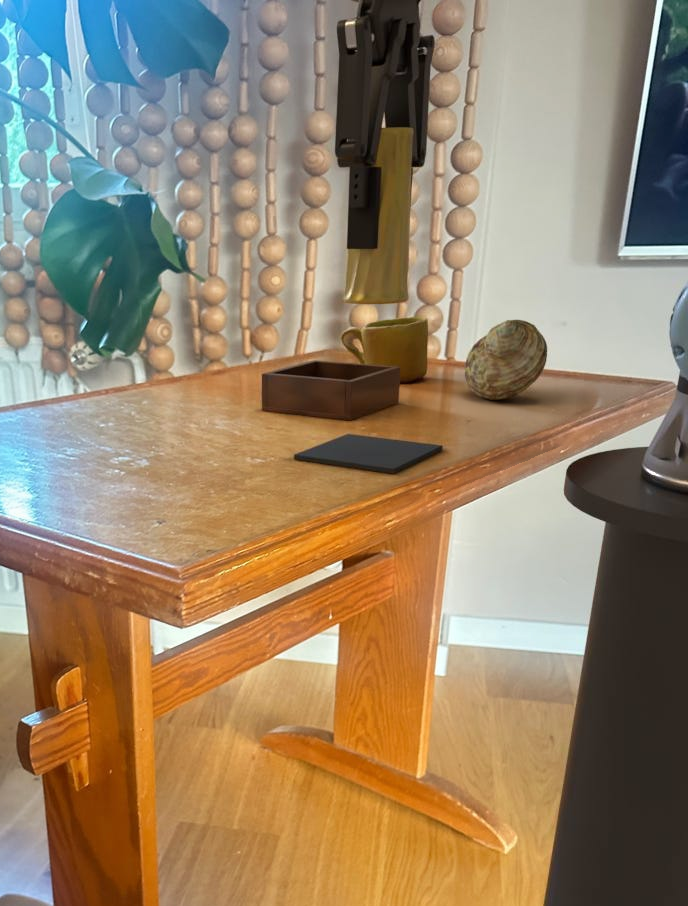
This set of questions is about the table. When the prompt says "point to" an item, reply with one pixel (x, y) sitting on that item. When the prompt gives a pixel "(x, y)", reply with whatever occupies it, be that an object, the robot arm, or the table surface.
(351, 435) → the mat
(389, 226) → the vase
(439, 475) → the table surface
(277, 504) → the table surface
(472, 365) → the seashell
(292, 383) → the bin
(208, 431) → the table surface
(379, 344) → the mug
